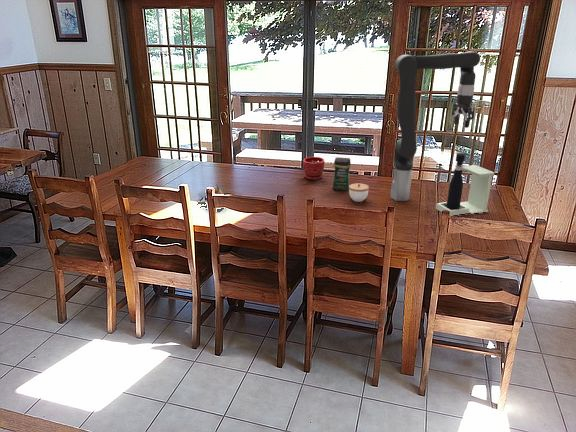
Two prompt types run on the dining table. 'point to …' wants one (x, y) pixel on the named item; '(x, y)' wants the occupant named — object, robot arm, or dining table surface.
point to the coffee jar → (341, 173)
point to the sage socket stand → (473, 192)
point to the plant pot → (313, 167)
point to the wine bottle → (456, 185)
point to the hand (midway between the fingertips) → (461, 125)
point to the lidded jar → (358, 191)
